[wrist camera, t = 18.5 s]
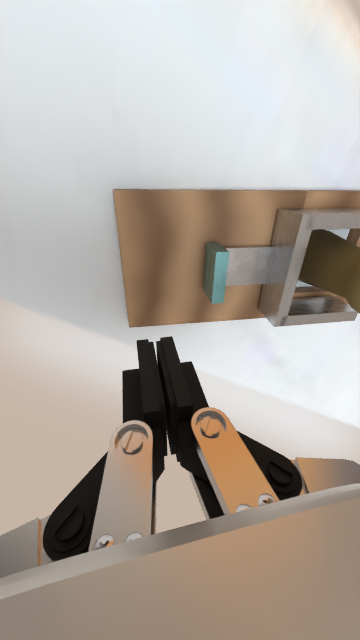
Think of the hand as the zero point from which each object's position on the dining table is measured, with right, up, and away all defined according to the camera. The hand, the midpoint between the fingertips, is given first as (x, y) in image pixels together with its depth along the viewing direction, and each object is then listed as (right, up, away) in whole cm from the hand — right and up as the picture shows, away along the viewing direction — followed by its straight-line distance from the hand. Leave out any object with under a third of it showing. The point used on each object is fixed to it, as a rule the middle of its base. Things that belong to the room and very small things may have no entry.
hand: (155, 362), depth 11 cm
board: (+9, +9, +16) cm, 20 cm away
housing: (+12, +8, +14) cm, 20 cm away
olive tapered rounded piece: (+17, +10, +16) cm, 25 cm away
